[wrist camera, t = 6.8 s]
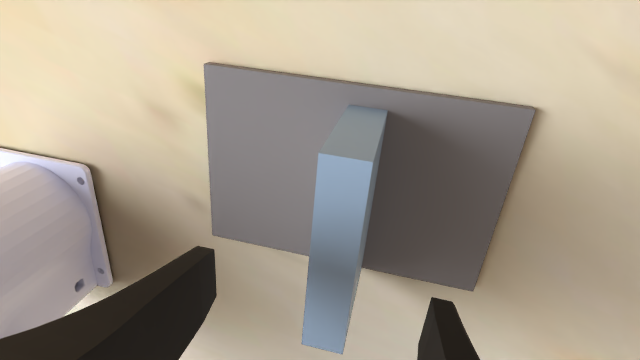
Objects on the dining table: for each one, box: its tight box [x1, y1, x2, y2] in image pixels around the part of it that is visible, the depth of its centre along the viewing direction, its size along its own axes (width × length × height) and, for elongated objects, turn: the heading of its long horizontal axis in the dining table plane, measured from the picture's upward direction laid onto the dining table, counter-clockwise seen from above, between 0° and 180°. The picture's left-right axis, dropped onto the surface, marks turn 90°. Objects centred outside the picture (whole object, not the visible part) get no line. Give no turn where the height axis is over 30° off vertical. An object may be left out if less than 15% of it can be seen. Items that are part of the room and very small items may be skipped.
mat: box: [204, 62, 535, 291], centre depth 20 cm, size 10×15×1 cm, turn 85°
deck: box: [302, 105, 388, 354], centre depth 17 cm, size 9×2×6 cm, turn 175°
